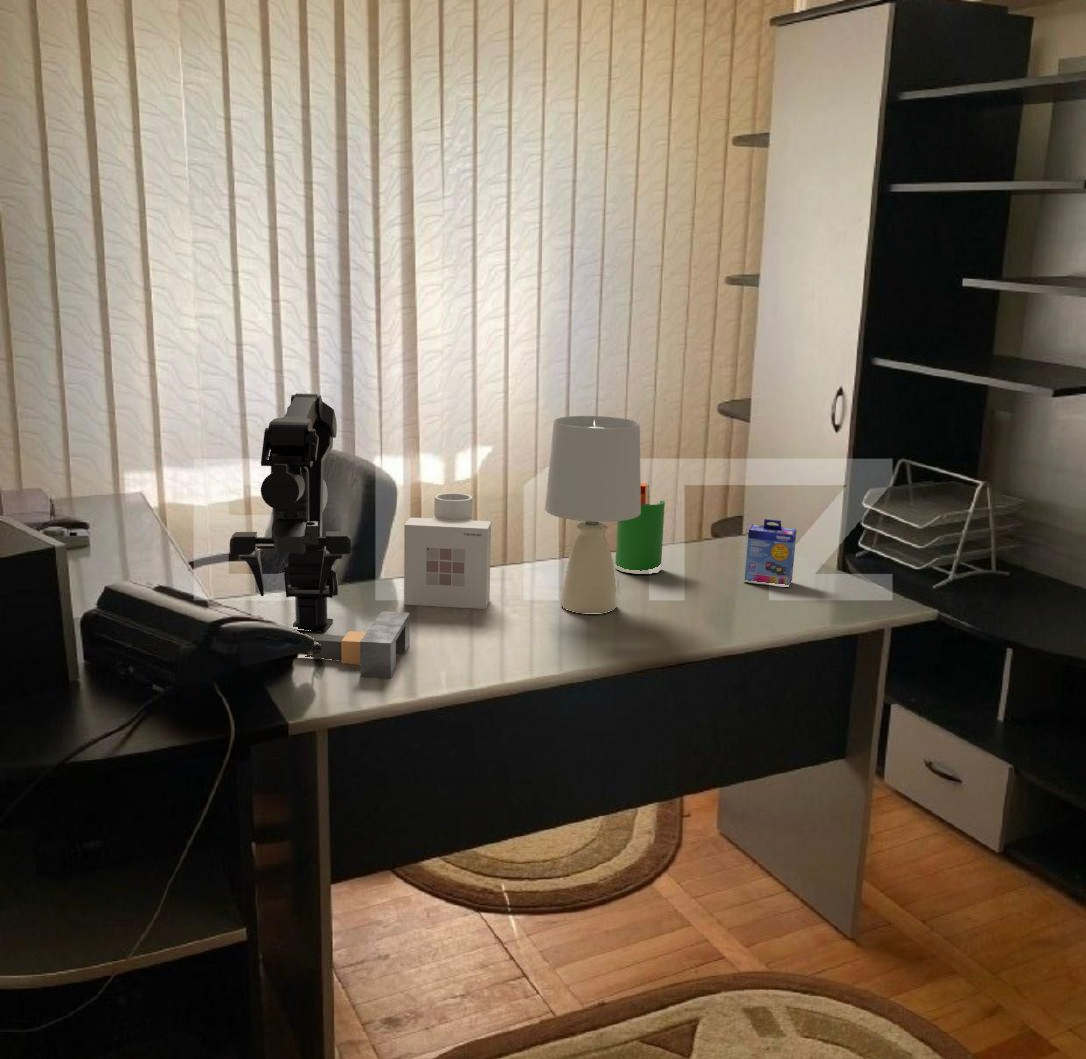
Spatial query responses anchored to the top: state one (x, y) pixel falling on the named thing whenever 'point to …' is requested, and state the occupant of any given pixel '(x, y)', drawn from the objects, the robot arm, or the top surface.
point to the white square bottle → (447, 556)
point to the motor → (641, 537)
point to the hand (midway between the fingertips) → (291, 595)
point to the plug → (339, 646)
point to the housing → (384, 644)
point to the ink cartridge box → (770, 553)
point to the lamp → (593, 499)
